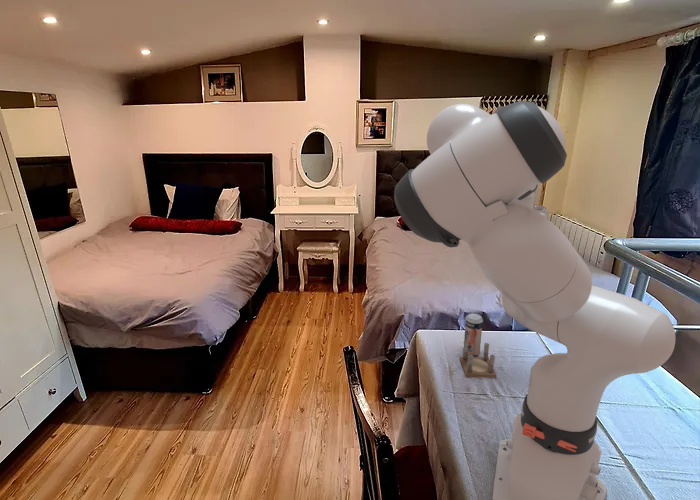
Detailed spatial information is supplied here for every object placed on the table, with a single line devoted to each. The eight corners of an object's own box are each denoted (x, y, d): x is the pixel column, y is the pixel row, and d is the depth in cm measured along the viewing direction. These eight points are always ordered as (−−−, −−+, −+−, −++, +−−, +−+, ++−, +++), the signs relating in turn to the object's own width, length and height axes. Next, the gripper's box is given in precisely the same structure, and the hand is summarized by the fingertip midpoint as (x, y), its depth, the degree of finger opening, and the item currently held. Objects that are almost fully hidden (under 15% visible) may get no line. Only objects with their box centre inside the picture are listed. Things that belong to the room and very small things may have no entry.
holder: (496, 378, 99) (498, 358, 97) (465, 377, 100) (467, 357, 98) (488, 360, 107) (490, 342, 105) (459, 359, 107) (461, 341, 105)
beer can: (459, 349, 112) (462, 314, 108) (473, 346, 113) (476, 311, 110) (469, 358, 108) (472, 321, 104) (483, 355, 109) (486, 318, 105)
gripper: (539, 202, 98) (531, 252, 102) (470, 207, 93) (465, 259, 97) (557, 207, 92) (549, 259, 96) (485, 212, 87) (479, 268, 91)
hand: (506, 259), depth 97 cm, fingers open, 8 cm apart
